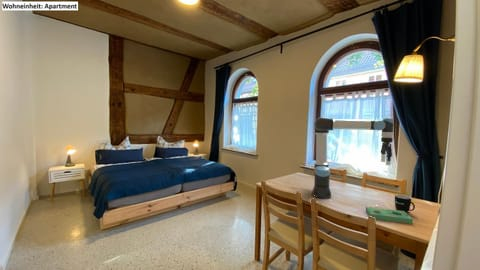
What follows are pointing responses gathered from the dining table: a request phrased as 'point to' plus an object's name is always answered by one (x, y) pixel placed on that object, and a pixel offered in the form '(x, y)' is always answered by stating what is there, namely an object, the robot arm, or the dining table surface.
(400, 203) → the mug
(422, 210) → the dining table surface
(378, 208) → the ball
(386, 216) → the green
